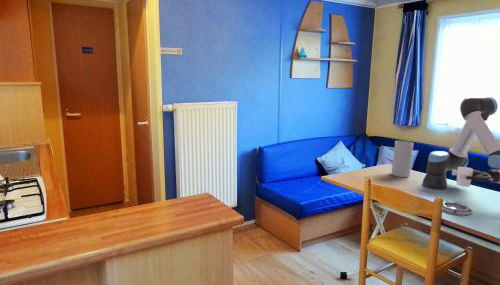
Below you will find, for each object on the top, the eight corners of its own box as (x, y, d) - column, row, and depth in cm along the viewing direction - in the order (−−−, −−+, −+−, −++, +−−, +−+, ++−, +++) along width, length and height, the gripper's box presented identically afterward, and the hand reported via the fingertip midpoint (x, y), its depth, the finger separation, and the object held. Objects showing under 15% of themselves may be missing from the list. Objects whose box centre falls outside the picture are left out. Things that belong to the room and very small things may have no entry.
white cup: (470, 188, 203) (473, 171, 201) (455, 185, 207) (457, 168, 205) (471, 184, 210) (473, 168, 208) (455, 182, 214) (458, 165, 212)
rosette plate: (433, 208, 203) (433, 204, 202) (447, 203, 212) (447, 198, 212) (463, 218, 190) (464, 213, 190) (476, 212, 200) (477, 207, 199)
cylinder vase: (413, 177, 263) (417, 144, 258) (398, 178, 260) (402, 144, 255) (402, 172, 275) (406, 140, 270) (388, 173, 272) (391, 140, 267)
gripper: (507, 188, 197) (464, 186, 198) (485, 177, 217) (446, 175, 218) (509, 175, 195) (466, 173, 197) (487, 165, 216) (448, 163, 217)
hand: (456, 174), depth 207 cm, fingers closed on white cup, 8 cm apart
